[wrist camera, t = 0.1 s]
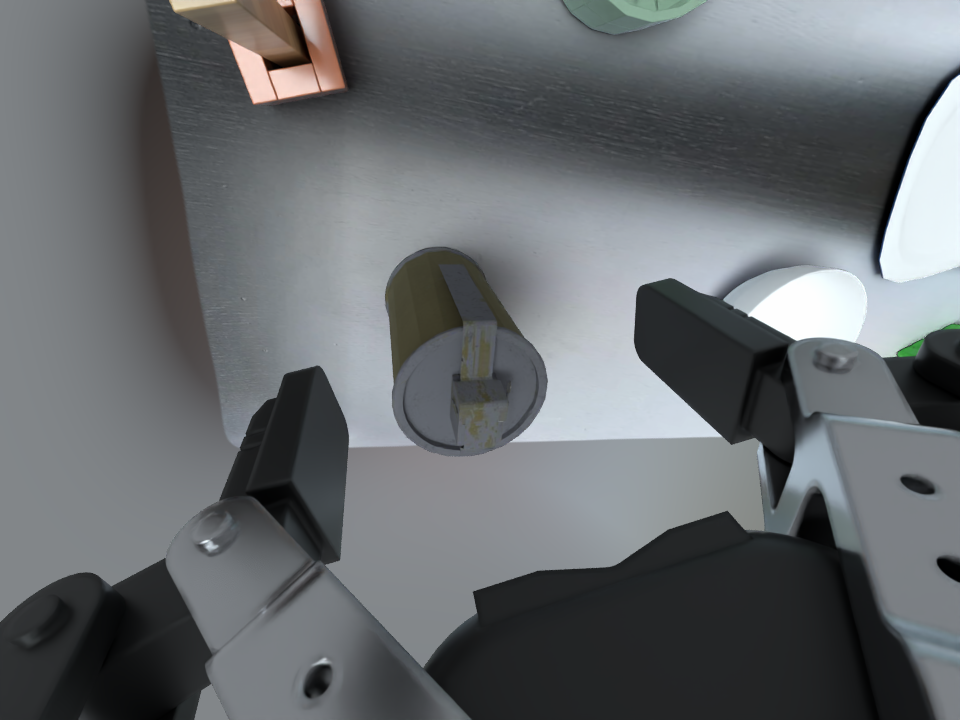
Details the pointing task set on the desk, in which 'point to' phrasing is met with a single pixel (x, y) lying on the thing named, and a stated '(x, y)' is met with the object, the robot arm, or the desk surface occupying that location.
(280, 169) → the desk surface
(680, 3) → the mixing bowl
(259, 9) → the stirring stick
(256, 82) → the orange square socket block
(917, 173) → the plate
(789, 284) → the bowl
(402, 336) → the canister
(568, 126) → the desk surface
